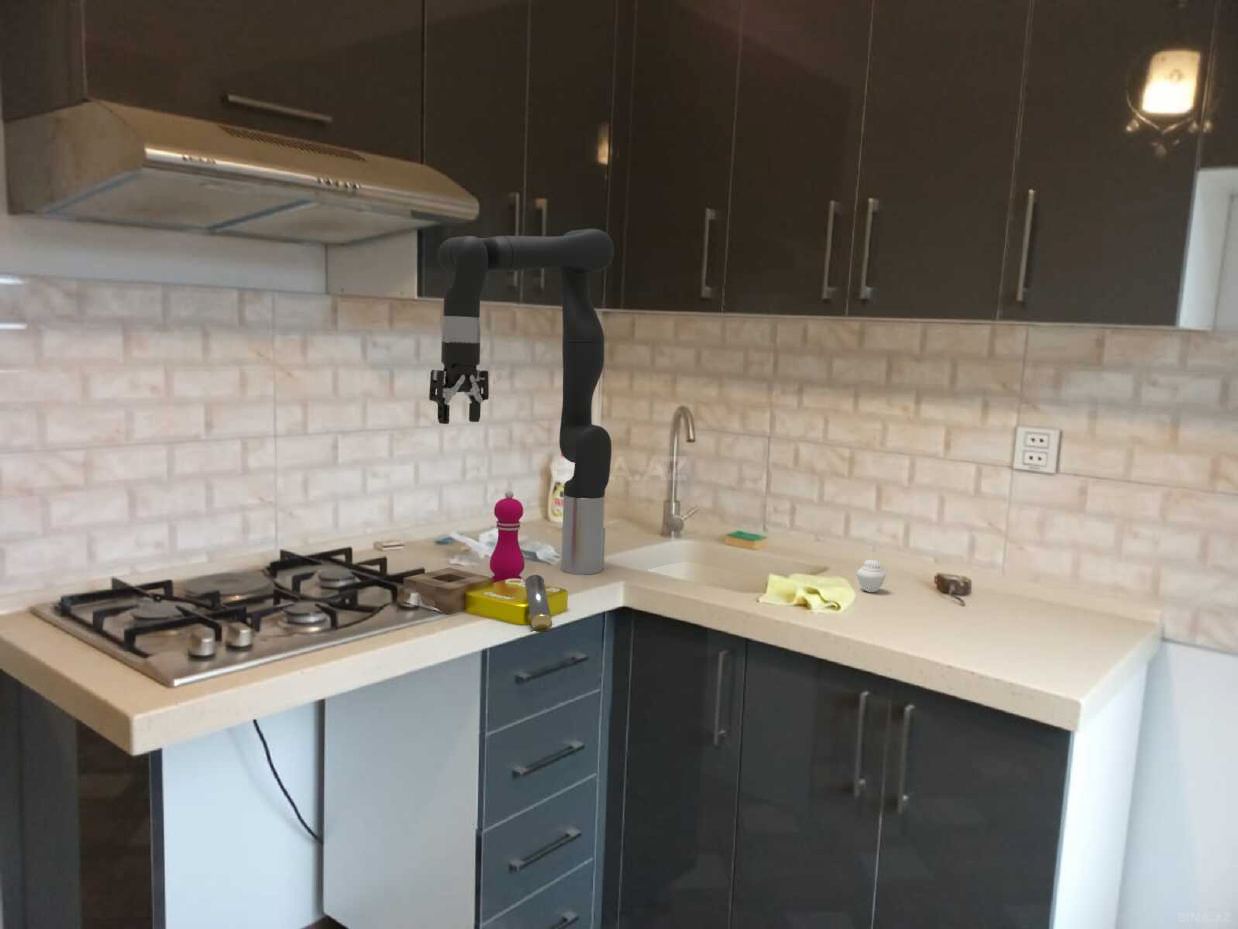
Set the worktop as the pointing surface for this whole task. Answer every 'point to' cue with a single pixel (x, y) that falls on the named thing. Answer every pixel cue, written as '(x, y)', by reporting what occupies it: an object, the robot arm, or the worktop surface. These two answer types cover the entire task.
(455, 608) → the pin block
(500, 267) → the robot arm
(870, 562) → the white rounded jar
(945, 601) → the worktop surface
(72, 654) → the worktop surface
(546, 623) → the metal pin
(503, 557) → the pepper mill
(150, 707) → the worktop surface
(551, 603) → the element tile
